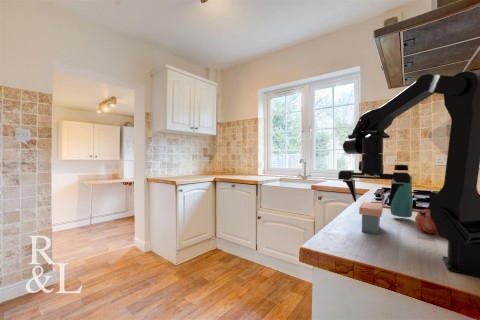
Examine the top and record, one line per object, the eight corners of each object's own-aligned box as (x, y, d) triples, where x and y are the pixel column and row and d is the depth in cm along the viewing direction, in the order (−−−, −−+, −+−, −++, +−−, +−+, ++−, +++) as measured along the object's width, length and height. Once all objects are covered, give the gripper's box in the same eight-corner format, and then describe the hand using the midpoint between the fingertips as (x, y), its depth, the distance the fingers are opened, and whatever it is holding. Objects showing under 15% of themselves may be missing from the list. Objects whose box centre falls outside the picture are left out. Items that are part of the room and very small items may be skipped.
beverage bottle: (416, 222, 76) (417, 164, 76) (395, 221, 77) (395, 164, 77) (406, 217, 82) (407, 164, 82) (386, 216, 84) (387, 164, 83)
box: (378, 234, 64) (378, 216, 64) (361, 231, 67) (362, 213, 66) (379, 226, 71) (379, 209, 71) (364, 224, 74) (365, 208, 74)
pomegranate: (426, 234, 71) (401, 215, 71) (443, 217, 69) (418, 198, 69) (444, 246, 63) (417, 225, 63) (464, 228, 62) (436, 206, 62)
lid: (381, 220, 63) (381, 210, 63) (359, 217, 66) (359, 207, 66) (382, 212, 71) (382, 203, 71) (362, 210, 75) (363, 201, 75)
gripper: (408, 153, 70) (407, 202, 70) (344, 154, 80) (344, 196, 81) (410, 153, 61) (409, 209, 61) (338, 153, 71) (337, 201, 72)
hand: (371, 203), depth 69 cm, fingers open, 9 cm apart
